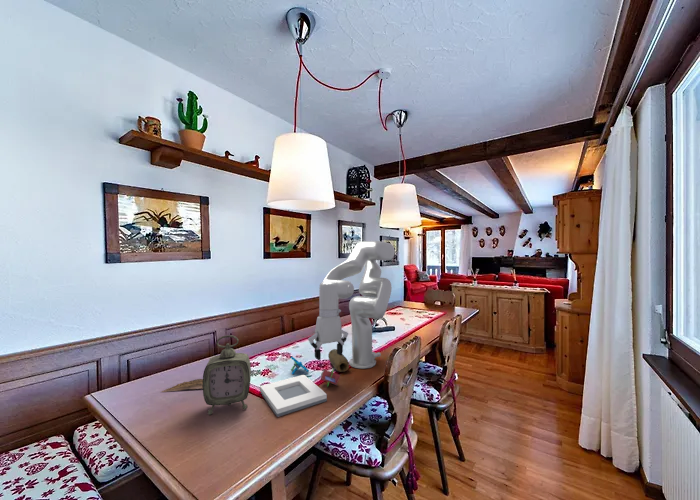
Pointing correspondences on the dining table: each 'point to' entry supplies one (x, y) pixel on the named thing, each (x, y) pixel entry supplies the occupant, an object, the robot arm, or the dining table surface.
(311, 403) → the square picture frame
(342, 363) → the stone weight
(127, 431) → the dining table surface
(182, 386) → the wooden fragment
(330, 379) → the geometric puzzle
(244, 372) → the tabletop clock
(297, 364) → the gear
